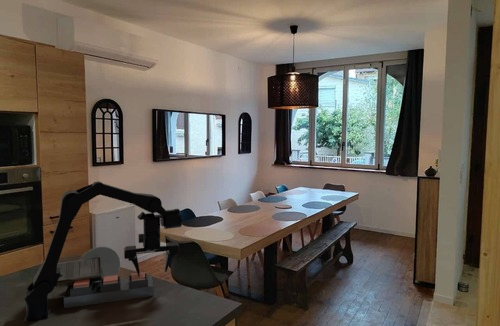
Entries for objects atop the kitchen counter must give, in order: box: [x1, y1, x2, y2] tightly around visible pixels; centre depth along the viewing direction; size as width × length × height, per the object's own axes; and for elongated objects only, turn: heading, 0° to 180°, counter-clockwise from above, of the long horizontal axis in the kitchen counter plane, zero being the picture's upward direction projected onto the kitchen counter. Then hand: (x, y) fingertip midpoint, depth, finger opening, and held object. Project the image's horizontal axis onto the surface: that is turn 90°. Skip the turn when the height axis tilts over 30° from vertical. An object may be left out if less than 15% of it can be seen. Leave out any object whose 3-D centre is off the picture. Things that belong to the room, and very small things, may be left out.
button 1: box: [130, 271, 146, 281], centre depth 124 cm, size 4×4×3 cm
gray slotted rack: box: [63, 272, 155, 309], centre depth 123 cm, size 10×28×6 cm, turn 110°
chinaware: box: [79, 246, 122, 283], centre depth 133 cm, size 15×15×8 cm
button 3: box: [73, 279, 90, 288], centre depth 118 cm, size 4×4×3 cm
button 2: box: [103, 274, 119, 285], centre depth 121 cm, size 4×4×3 cm
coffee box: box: [53, 257, 102, 290], centre depth 123 cm, size 9×6×16 cm
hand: (152, 273), depth 126 cm, fingers open, 9 cm apart
